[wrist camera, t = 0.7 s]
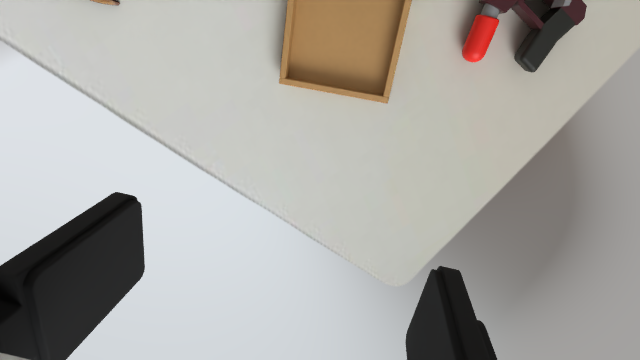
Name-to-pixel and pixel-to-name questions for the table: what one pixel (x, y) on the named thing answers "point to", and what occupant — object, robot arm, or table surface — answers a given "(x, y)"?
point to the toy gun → (544, 31)
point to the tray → (343, 46)
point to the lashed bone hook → (107, 2)
